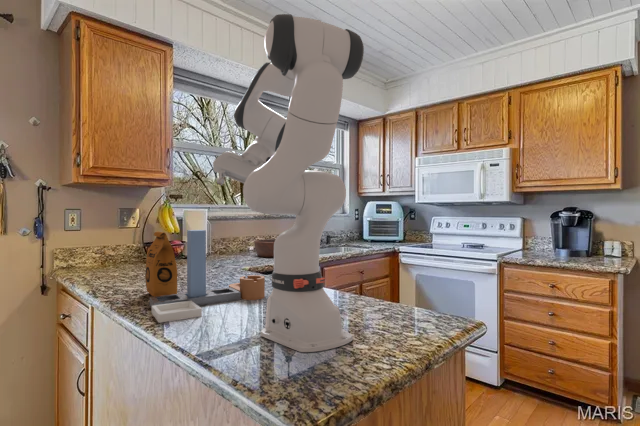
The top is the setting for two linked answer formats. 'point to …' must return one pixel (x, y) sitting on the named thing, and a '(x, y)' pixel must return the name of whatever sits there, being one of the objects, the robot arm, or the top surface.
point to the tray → (176, 311)
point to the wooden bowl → (265, 247)
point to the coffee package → (161, 267)
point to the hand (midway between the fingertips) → (232, 188)
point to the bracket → (250, 287)
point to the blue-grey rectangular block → (196, 263)
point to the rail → (199, 297)
